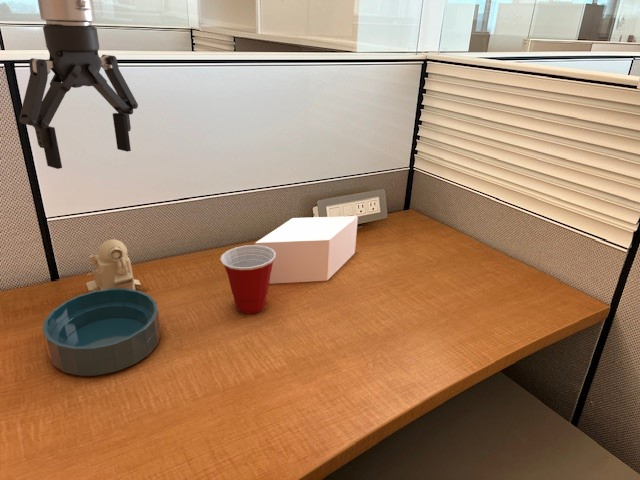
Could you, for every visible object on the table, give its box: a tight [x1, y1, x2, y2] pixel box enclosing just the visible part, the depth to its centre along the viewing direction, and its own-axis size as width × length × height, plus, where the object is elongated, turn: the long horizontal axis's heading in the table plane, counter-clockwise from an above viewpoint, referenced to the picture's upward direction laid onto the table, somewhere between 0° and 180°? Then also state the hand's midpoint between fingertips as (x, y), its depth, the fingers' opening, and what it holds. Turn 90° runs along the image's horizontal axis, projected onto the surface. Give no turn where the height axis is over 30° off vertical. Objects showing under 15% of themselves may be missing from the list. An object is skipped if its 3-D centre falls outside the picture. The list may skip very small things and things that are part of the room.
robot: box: [85, 225, 141, 293], centre depth 98 cm, size 10×8×15 cm
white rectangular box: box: [254, 215, 359, 285], centre depth 112 cm, size 14×29×10 cm, turn 127°
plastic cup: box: [220, 244, 276, 315], centre depth 96 cm, size 11×11×12 cm
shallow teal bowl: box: [41, 288, 162, 377], centre depth 84 cm, size 18×18×6 cm
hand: (91, 158), depth 83 cm, fingers open, 13 cm apart
